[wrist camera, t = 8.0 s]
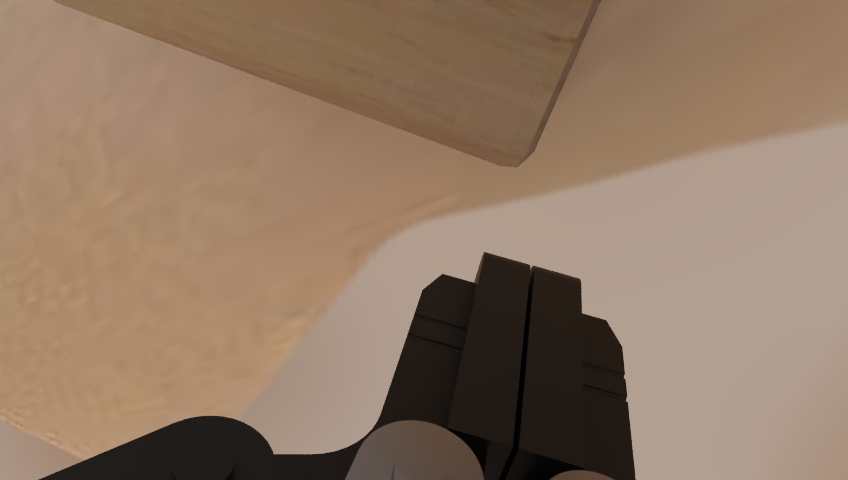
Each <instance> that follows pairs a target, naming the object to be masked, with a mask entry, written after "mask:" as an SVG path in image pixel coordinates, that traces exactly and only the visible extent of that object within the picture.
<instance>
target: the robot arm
mask: <svg viewBox="0 0 848 480" xmlns="http://www.w3.org/2000/svg"><path fill="white" fill-rule="evenodd" d="M624 374H625V371H624V361H623V351H622V346H621V344H620V343H619V341H618V339H617V338H616V336H615V335H614V333H613V331H612V329H611V328H610V326H609V325H608V323H607V321H606V320H603V319H600V318H596V317H592V316H589V315H585V314H582V303H581V281H580V279H579V278H575V277H571V276H568V275H564V274H561V273H558V272H554V271H550V270H547V269H543V268H540V267H536V266H533V267H532V268H531V270H530V265H528V264H525V263H521V262H518V261H514V260H511V259H507V258H504V257H500V256H496V255H493V254H489V253H486V252H484V254H483V256H482V259H481V262H480V265H479V269H478V272H477V275H476V278H475V282H474V283H473V282H469V281H466V280H462V279H459V278H455V277H452V276H448V275H444V274H442V275H441V276H439V277H438V278H437V279H436V280H434V281H433V282H432V283H431V284H430V285H428V286H427V287H426V288H425V289H423V290H422V293H421V296H420V299H419V302H418V305H417V308H416V311H415V315H414V318H413V320H412V323H411V326H410V329H409V332H408V335H407V338H406V341H405V344H404V347H403V350H402V353H401V356H400V359H399V362H398V365H397V368H396V371H395V373H394V377H393V380H392V382H391V385H390V388H389V391H388V394H387V397H386V400H385V403H384V406H383V409H382V412H381V415H380V417H379V419H378V421H377V423H376V424H375V426H374V428H373V429H372V430H371V431H370V432H369V433H368V434H367V435H366V436H365V437H364V438H362V439H361V440H359V441H358V442H357V443H355V444H353V445H351V446H349V447H347V448H344V449H341V450H338V451H335V452H330V453H325V454H312V455H310V454H306V455H304V454H302V455H301V454H295V455H294V454H293V455H292V454H285V455H284V454H279V455H278V454H276V455H275V454H273V451H272V449H271V447H270V445H269V444H268V442H267V441H266V439H265V438H264V437H263V436H262V435H261V434H260V433H259V432H258V431H256V430H255V429H254V428H252V427H251V426H249V425H247V424H245V423H243V422H241V421H238V420H235V419H232V418H227V417H222V416H200V417H194V418H189V419H184V420H182V421H179V422H176V423H173V424H171V425H168V426H166V427H163V428H161V429H159V430H156V431H154V432H152V433H149V434H147V435H144V436H142V437H140V438H137V439H135V440H132V441H130V442H128V443H125V444H123V445H120V446H118V447H116V448H113V449H111V450H109V451H106V452H104V453H101V454H99V455H97V456H94V457H92V458H89V459H87V460H85V461H82V462H80V463H78V464H75V465H73V466H71V467H68V468H66V469H63V470H61V471H59V472H56V473H54V474H51V475H49V476H47V477H44V478H42V479H39V480H636V479H635V469H634V459H633V450H632V440H631V430H630V420H629V410H628V402H626V398H627V390H626V382H625V379H624Z"/></svg>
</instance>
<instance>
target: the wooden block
mask: <svg viewBox="0 0 848 480" xmlns="http://www.w3.org/2000/svg"><path fill="white" fill-rule="evenodd" d="M54 1H55V2H57V3H59V4H62V5H65V6H67V7H70V8H73V9H76V10H78V11H81V12H84V13H86V14H89V15H92V16H95V17H97V18H100V19H103V20H105V21H108V22H111V23H114V24H116V25H119V26H122V27H124V28H127V29H130V30H133V31H135V32H138V33H141V34H143V35H146V36H149V37H152V38H154V39H157V40H160V41H163V42H165V43H168V44H171V45H173V46H176V47H179V48H182V49H184V50H187V51H190V52H192V53H195V54H198V55H201V56H203V57H206V58H209V59H211V60H214V61H217V62H220V63H222V64H225V65H228V66H231V67H233V68H236V69H239V70H241V71H244V72H247V73H250V74H252V75H255V76H258V77H260V78H263V79H266V80H269V81H271V82H274V83H277V84H279V85H282V86H285V87H288V88H290V89H293V90H296V91H298V92H301V93H304V94H307V95H309V96H312V97H315V98H318V99H320V100H323V101H326V102H328V103H331V104H334V105H337V106H339V107H342V108H345V109H347V110H350V111H353V112H356V113H358V114H361V115H364V116H366V117H369V118H372V119H375V120H377V121H380V122H383V123H385V124H388V125H391V126H394V127H396V128H399V129H402V130H405V131H407V132H410V133H413V134H415V135H418V136H421V137H424V138H426V139H429V140H432V141H434V142H437V143H440V144H443V145H445V146H448V147H451V148H453V149H456V150H459V151H462V152H464V153H467V154H470V155H472V156H475V157H478V158H481V159H483V160H486V161H489V162H492V163H494V164H497V165H500V166H509V167H517V166H519V165H520V164H521V163H522V162H523V161H524V160H526V159H527V158H528V157H529V156H530V155H531V154H532V153H533V152H534V150H535V148H536V146H537V143H538V141H539V139H540V137H541V134H542V132H543V130H544V127H545V125H546V123H547V121H548V118H549V116H550V114H551V112H552V109H553V107H554V105H555V103H556V100H557V98H558V96H559V93H560V91H561V89H562V87H563V84H564V82H565V80H566V78H567V75H568V73H569V71H570V69H571V66H572V64H573V62H574V59H575V57H576V55H577V53H578V50H579V48H580V46H581V44H582V41H583V39H584V37H585V35H586V32H587V30H588V28H589V25H590V23H591V21H592V19H593V16H594V14H595V12H596V10H597V7H598V5H599V3H600V1H601V0H54Z"/></svg>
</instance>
